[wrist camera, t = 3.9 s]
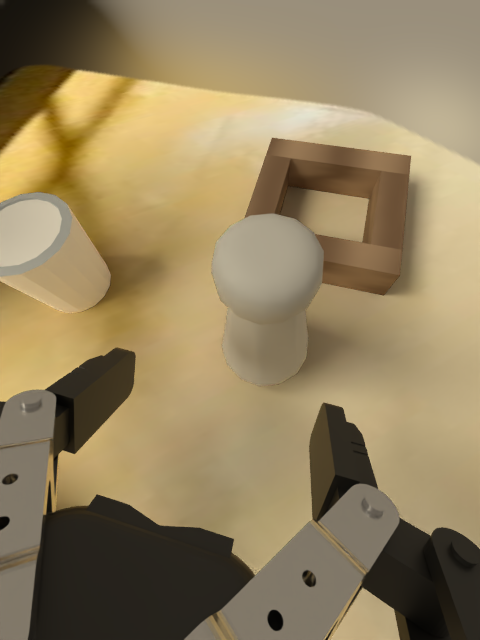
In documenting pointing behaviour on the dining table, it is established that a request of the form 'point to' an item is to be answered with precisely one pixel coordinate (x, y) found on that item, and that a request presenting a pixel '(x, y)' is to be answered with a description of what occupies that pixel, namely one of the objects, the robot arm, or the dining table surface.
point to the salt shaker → (267, 295)
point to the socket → (349, 179)
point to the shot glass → (50, 254)
